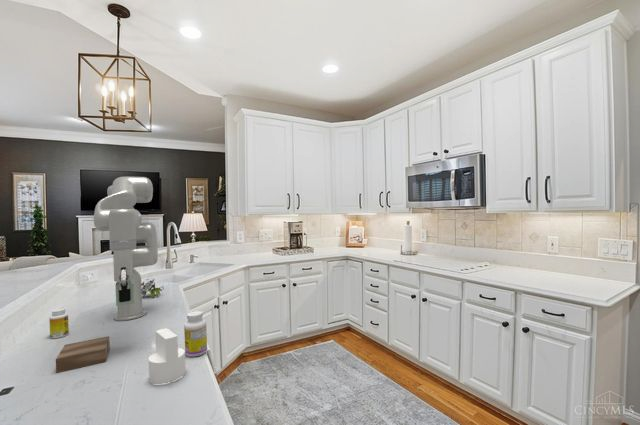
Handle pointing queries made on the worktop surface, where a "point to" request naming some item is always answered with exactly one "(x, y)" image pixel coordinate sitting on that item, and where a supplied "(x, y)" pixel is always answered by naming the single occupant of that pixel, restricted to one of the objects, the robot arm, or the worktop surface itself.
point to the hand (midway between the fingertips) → (125, 298)
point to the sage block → (131, 287)
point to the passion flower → (149, 286)
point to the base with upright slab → (166, 358)
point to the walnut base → (83, 354)
